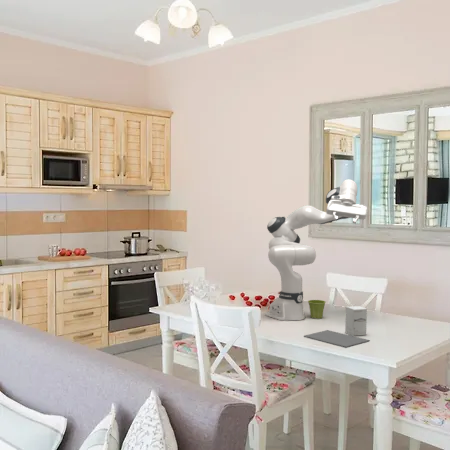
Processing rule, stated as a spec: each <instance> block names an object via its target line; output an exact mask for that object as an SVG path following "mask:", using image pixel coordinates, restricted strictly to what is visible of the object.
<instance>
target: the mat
mask: <svg viewBox="0 0 450 450" xmlns="http://www.w3.org/2000/svg"><path fill="white" fill-rule="evenodd" d="M303 337H304V338H307V339H311V340H314V341H319V342H322V343H327V344H331V345H334V346H338V347H342V348H345V349H346V348H350V347H354V346H357V345H362V344H365V343H369V342H370V341H371V339H366V338H362V337H357V336H351V335H349V334H347V333H346V334H345V333H341V332H336V331H334V330H333V331H332V330H328V329H326V330H322V331H318V332H314V333H313V332H312V333H310V334H309V333H308V334H304V335H303Z"/></svg>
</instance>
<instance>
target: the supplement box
mask: <svg viewBox="0 0 450 450" xmlns="http://www.w3.org/2000/svg"><path fill="white" fill-rule="evenodd" d="M367 317H368V309H367V308H366V307H363V306H360V305H358V306H356V305H354V306H345V328H344V329H345V333H346V335H350V336H354V337H357V336H367V323H368V322H367ZM345 333H344V334H345Z"/></svg>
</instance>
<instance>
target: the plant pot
mask: <svg viewBox="0 0 450 450" xmlns="http://www.w3.org/2000/svg"><path fill="white" fill-rule="evenodd" d="M326 302H327V301H325V300H321V299H310V300H307V303H308V305H309V313H310V318H311V319H322V318H323V315H324V309H325V304H326Z"/></svg>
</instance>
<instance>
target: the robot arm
mask: <svg viewBox="0 0 450 450" xmlns="http://www.w3.org/2000/svg"><path fill="white" fill-rule="evenodd" d="M357 196H358V185H357V182H355V181H354V180H352V179H349V178H348V179H345V180H343V181H342V183H341V184H340V185H339V186H338V187H334V188H332V189H330V190H329V191H328V192H327V194H326V197H325V203H326V204H327V206H326V211H323V210H320V209H318V208H316V207H315V206H314V205H303V206H300V207H299V208H296V209H294V211H292V212H291V213H289V214H288V216H286V217H287V218H286V217H285V216H277V217H273V218H272V219H271V220H270V221H269V222H268V224H267V227H266V229H267V231H268V232H269V233H270V234H271V235H272V236H273V238H271V239H270V241H269V242H268V249H269V251H268V256H267V258H268V261H269V262H270V264H272V265H273V266H274V267H275V268H276V269H277V271H278V272H279V276H280V281H281V282H280V283H281V284H280V285H281V289H280V291H277V295H278V297H277V298H276V299H275V300H274V301H272V302H271V303H270V305H269V308H268V311H266V312H264V316H266V317H270V318H273V319H275V320H279V321H300V320H304V319H305V318H306V316H305V312H304V310H305V309H304V302H303V299H304V291H303V277H302V275H301V274H300V273H298V272H296V271H294V270H293V266H306V265H312V264H313V263H314V262H315V260H316V257H317V254H316V250H315V248H314V247H313V246H312V245H306V244H303V243H300V242H301V238H300V235H298V233H297V232H295V231H296V230H298V229H301V228H304V227H307V226H309V225H324V224H329V223H331V222H332V223H333V222H335V221H336V222H337V221H340V220H346V219H353V220H352V224H355V225H356V224H357V222H358V221H359V220H362V221H364V220H366V217H367V211H368V207H367V206H366V205H364V204H359V203H357Z"/></svg>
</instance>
